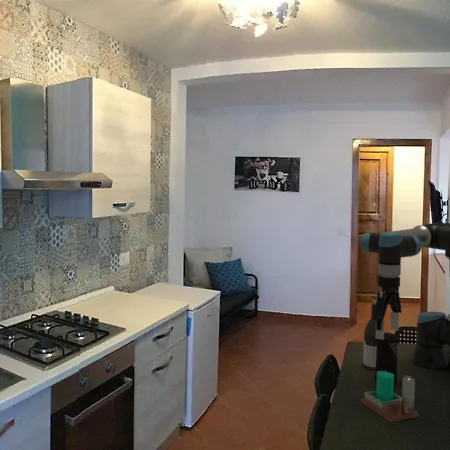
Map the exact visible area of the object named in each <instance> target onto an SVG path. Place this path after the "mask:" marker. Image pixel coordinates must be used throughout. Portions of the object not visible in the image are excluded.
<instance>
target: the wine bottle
mask: <svg viewBox="0 0 450 450" xmlns="http://www.w3.org/2000/svg"><path fill="white" fill-rule="evenodd" d="M376 302H377V299H372V301H371V315H370V319H369V320H368V322H367V323H366V325H365V327H364V332H363V358H362V366H363V368H364V369H366V370H369V371H374V372H375V370H376V352H377V339H376V338H375V336H376V320H373V316H374V312H375V307H376Z"/></svg>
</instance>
